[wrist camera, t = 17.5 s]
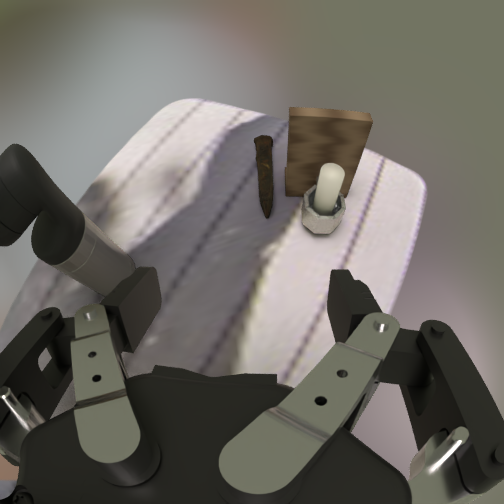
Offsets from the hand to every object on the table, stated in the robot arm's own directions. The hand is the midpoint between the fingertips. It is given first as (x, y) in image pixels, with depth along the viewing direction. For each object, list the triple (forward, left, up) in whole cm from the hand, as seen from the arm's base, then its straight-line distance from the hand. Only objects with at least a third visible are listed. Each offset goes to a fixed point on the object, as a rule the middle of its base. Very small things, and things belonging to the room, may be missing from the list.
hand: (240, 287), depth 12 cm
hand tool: (+1, +32, -33) cm, 46 cm away
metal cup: (+10, +23, -31) cm, 39 cm away
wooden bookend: (+10, +30, -33) cm, 46 cm away
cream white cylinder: (+10, +22, -30) cm, 38 cm away
